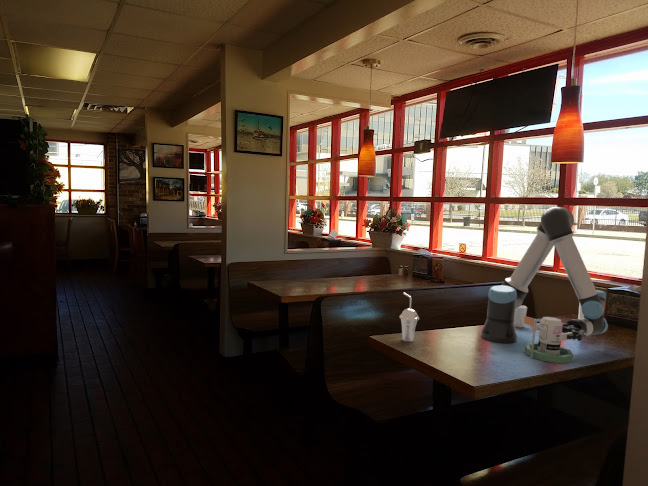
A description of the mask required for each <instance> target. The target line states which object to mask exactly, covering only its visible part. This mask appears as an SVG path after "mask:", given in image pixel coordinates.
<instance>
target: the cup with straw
mask: <svg viewBox="0 0 648 486" xmlns="http://www.w3.org/2000/svg"><path fill="white" fill-rule="evenodd" d="M403 295H404V296H406V297H408V298H409V308H405V309H404V310H403V311H402V313H401V314H400V315H399V319H400V322H401V335H402V336H401V337H402V341H404V342H413V341H414V338H415V332H416V326H417V323H418V321H419V320H420V317H419V315H418V313H417V311H416V310H415V309H413V308H412V296H411V295H409V294H407V293H406V292H403Z"/></svg>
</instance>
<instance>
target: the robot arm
mask: <svg viewBox="0 0 648 486" xmlns="http://www.w3.org/2000/svg"><path fill="white" fill-rule="evenodd" d="M574 222H575V219H574V214H573V213H572V212H571V210H570V209H568V208H566V207H563V206H552V207H549V208H547V209H546V210H545V211H544V212H543V213H542V215H541V217H540V222H539V224H538V226H537V227H536V231H537V234H536V236H535V237H534V239H533V240H532V242H531V244H530V245H529V247H528V248H527V250H526V251H525V253H524V255H523V256H522V258H521V259H520V261H519V263H518V264H517V266H516V267H515V269H514V270H513V273H512V274H511V275H510V276H509V277H506V278H505V279H504V280H503V282H502V283H501V285H493V286H491V287H489V290H488V293H487V294H488V295H487V297H488V300H487V309H486V310H487V311H486V312H487V313H486V320H485V322H484V325H483V327H482V329H481V333H480V336H481V338H483V339H485V340H488V341H491V342H495V343H502V344H512V343H516V342H517V338H518V337H517V331H516V327H514V315H515V309H517V308H518V307H519V306H520V305H522V304H523V302H524V300H525V298H526V297H527V295H528V293H529V288H528V286H529V285H530V283H531V282H532V280H533V278H534V277H535V276H536V274H537V273H538V271H539V269H540V268H541V266H542V265H543V263H544V262H545V260H546V259H547V257H548V255H549V254H550V252H551V251H552V249H553V248H555V250H556V253H557V254H558V257H559V258H560V262H561V264H562V266H563V268H564V270H565V273H566V275H567V277H568V280H569V281H570V284H571V286H572V288H573V291H574V293H575V295H576V297H577V300H578V302H579V303H580V305H581V307H582V313H583V315H584V318H580V319H578V318H575V319H574V318H573V319H569V320H568V321H566V323H565V322H564V323H563V322H562V323H563V326H562V333H561V334H560V337H559V340H560V341H561V342H562V341H568V340H577V341H579V342H580V341H582V340H583V338H584V337H588V336H597V335H602V334H603V333H605V332H606V331H608V328H609V324H608V321H607V320H606V318H605V310H606V301H607V293H606V291H603V290H599V289H596V287H595V284H594V283H593V281H592V279H591V276H590V273H589V272H588V269H587V267H586V265H585V263H584V260H583V258H582V256H581V253H580V251H579V249H578V247H577V244H576V243H575V240H574V238H573V237H574V231H573V229H572V227H573V225H574ZM593 284H594V285H593ZM579 303H578V304H579ZM540 321H541V320H538V321H537V320H536V329H535V332H537V331H540ZM533 327H534V326H531V325H529V331H530V332H533Z"/></svg>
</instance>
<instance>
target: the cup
mask: <svg viewBox="0 0 648 486" xmlns="http://www.w3.org/2000/svg"><path fill="white" fill-rule="evenodd" d="M524 323H525V324H524V325H528V326H530V325H531V326H534V327H533V331H532V338H531V339H532V340H531V343H525V347H524V351H525V355H526V356H528V355H529V356H528V357H530V359H532V358H534V359H535V360H539V361H543V362H548V363H556V364H566V363H570V362H571V363H572V362H574V354H573V352H572V351H571V350H570V349H568V348H565V347H563V346H560V355H559V356H557V355H550V354H543V353H540V352H538V342H536V341H535V337H536V331H535V329H536V324H537V319H536V318H533V317H529V316H527V315H526V316H525V317H524Z"/></svg>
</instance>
